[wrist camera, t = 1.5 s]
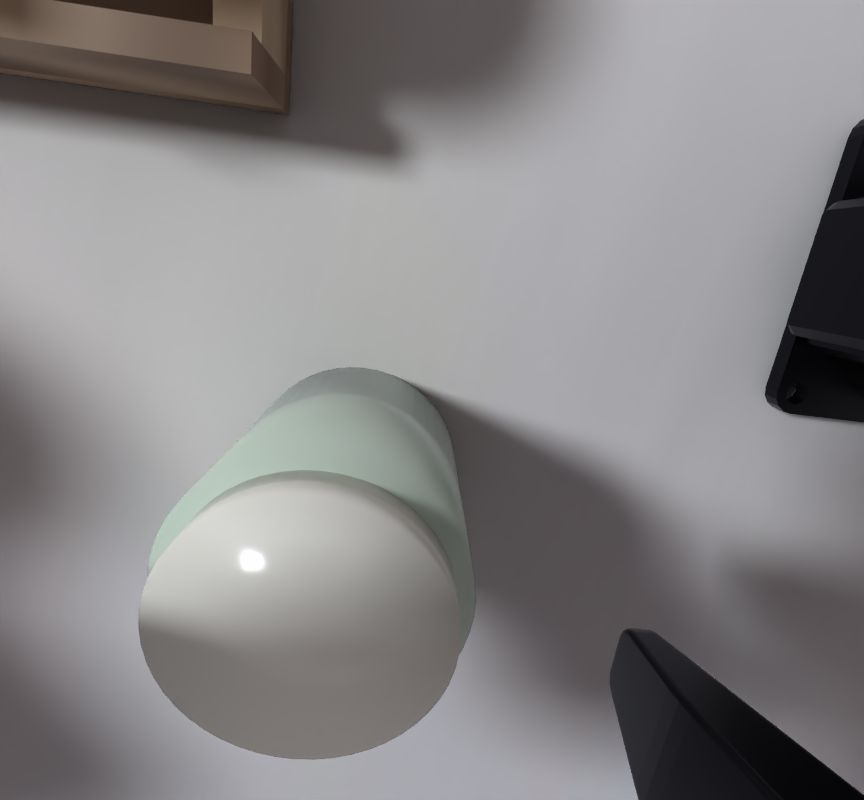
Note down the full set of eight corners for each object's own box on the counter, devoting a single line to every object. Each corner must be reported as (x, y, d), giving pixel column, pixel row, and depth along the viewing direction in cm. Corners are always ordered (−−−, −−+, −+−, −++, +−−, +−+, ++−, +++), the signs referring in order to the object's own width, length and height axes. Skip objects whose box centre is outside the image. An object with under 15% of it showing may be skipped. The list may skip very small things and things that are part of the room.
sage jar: (466, 379, 12) (509, 496, 6) (440, 556, 13) (455, 784, 8) (259, 355, 12) (103, 454, 6) (254, 538, 13) (125, 762, 7)
